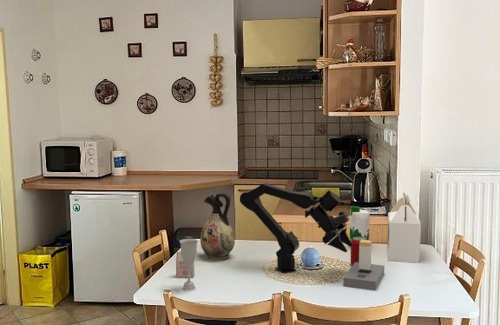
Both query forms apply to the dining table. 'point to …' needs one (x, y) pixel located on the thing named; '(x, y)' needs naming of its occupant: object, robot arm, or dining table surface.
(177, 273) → the white red printed box
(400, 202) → the gable box
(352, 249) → the beverage can
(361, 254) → the plug
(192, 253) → the chalice
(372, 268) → the grey socket base
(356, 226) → the milk carton
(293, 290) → the dining table surface
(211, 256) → the ceramic jug
